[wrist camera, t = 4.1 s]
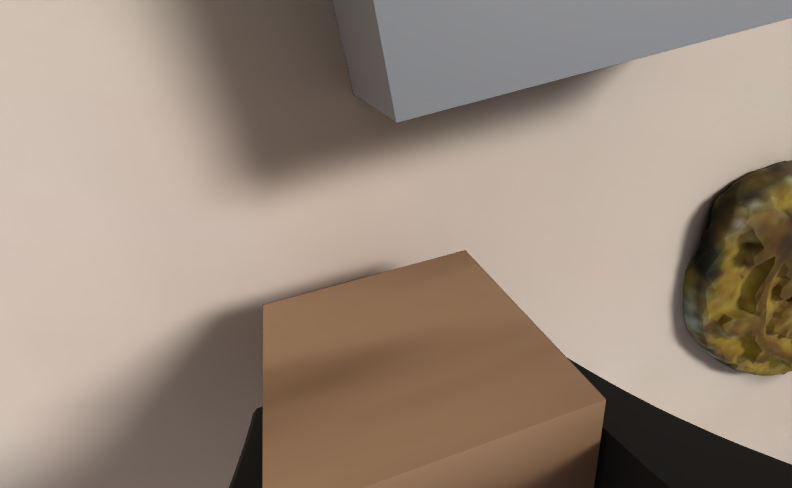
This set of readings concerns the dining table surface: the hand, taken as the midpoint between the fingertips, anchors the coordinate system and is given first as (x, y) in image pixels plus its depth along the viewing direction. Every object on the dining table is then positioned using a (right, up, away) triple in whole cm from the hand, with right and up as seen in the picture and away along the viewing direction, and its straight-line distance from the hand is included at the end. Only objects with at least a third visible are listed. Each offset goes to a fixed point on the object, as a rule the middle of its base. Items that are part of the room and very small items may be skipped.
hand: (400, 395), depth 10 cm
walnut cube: (0, +1, +1) cm, 2 cm away
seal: (+17, +3, +9) cm, 19 cm away
